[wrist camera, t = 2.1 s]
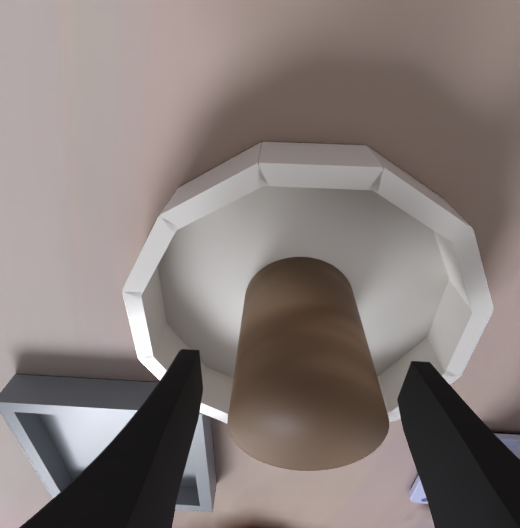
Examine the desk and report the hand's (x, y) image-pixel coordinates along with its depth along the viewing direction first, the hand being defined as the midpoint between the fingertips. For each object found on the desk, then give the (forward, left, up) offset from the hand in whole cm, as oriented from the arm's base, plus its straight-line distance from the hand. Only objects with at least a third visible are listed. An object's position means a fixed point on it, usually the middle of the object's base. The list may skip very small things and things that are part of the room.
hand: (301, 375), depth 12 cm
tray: (+10, +12, -4) cm, 16 cm away
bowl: (0, 0, -5) cm, 5 cm away
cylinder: (0, 0, -4) cm, 4 cm away
